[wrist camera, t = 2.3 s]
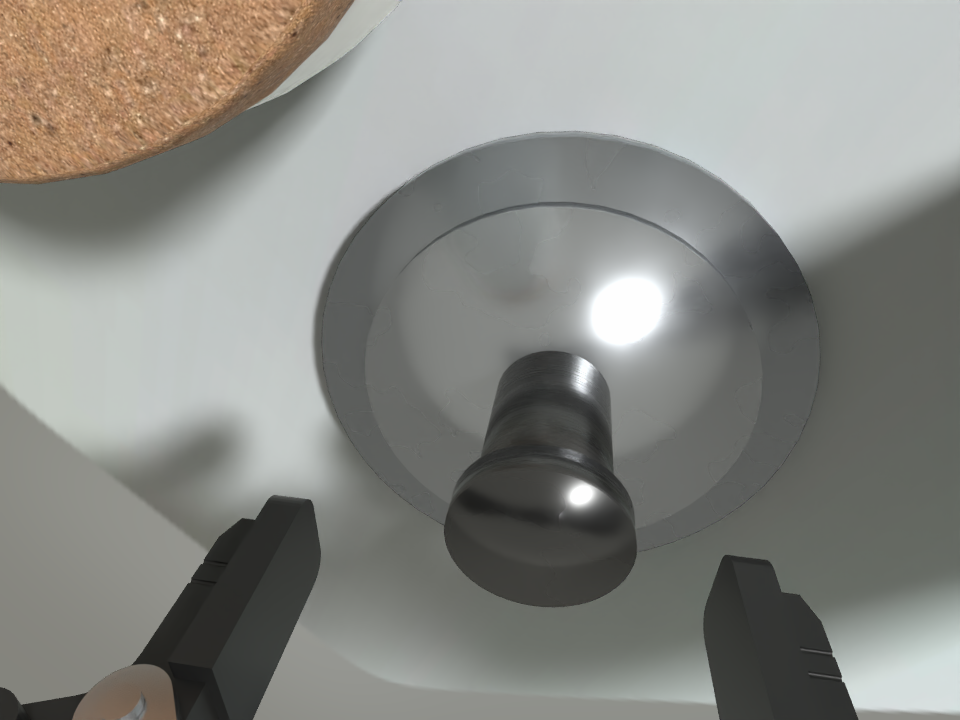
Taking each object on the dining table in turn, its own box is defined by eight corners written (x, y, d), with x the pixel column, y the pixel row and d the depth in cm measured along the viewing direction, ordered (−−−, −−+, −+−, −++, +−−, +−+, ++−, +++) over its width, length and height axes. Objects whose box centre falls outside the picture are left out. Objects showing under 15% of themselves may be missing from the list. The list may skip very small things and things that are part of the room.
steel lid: (887, 140, 14) (1096, 246, 8) (742, 559, 21) (797, 772, 15) (303, 118, 16) (134, 190, 10) (356, 510, 23) (277, 682, 17)
